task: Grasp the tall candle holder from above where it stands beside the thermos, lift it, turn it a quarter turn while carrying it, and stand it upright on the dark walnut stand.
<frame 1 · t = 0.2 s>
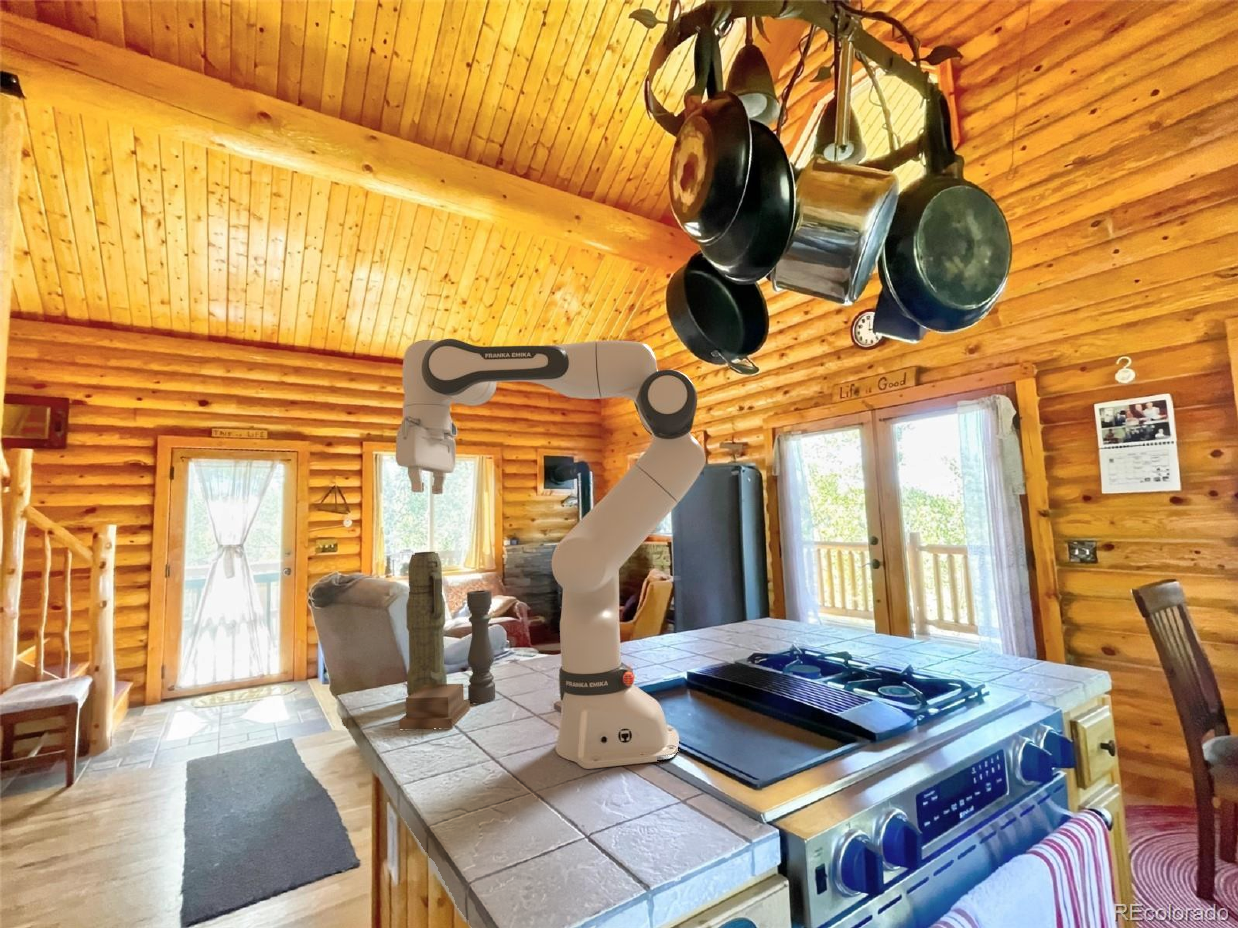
hand: (428, 493, 107), 48 cm above the counter, tool pointing down, fingers open, 8 cm apart
walnut stand: (436, 719, 118), on the counter
candle holder: (481, 700, 130), on the counter
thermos: (427, 702, 130), on the counter
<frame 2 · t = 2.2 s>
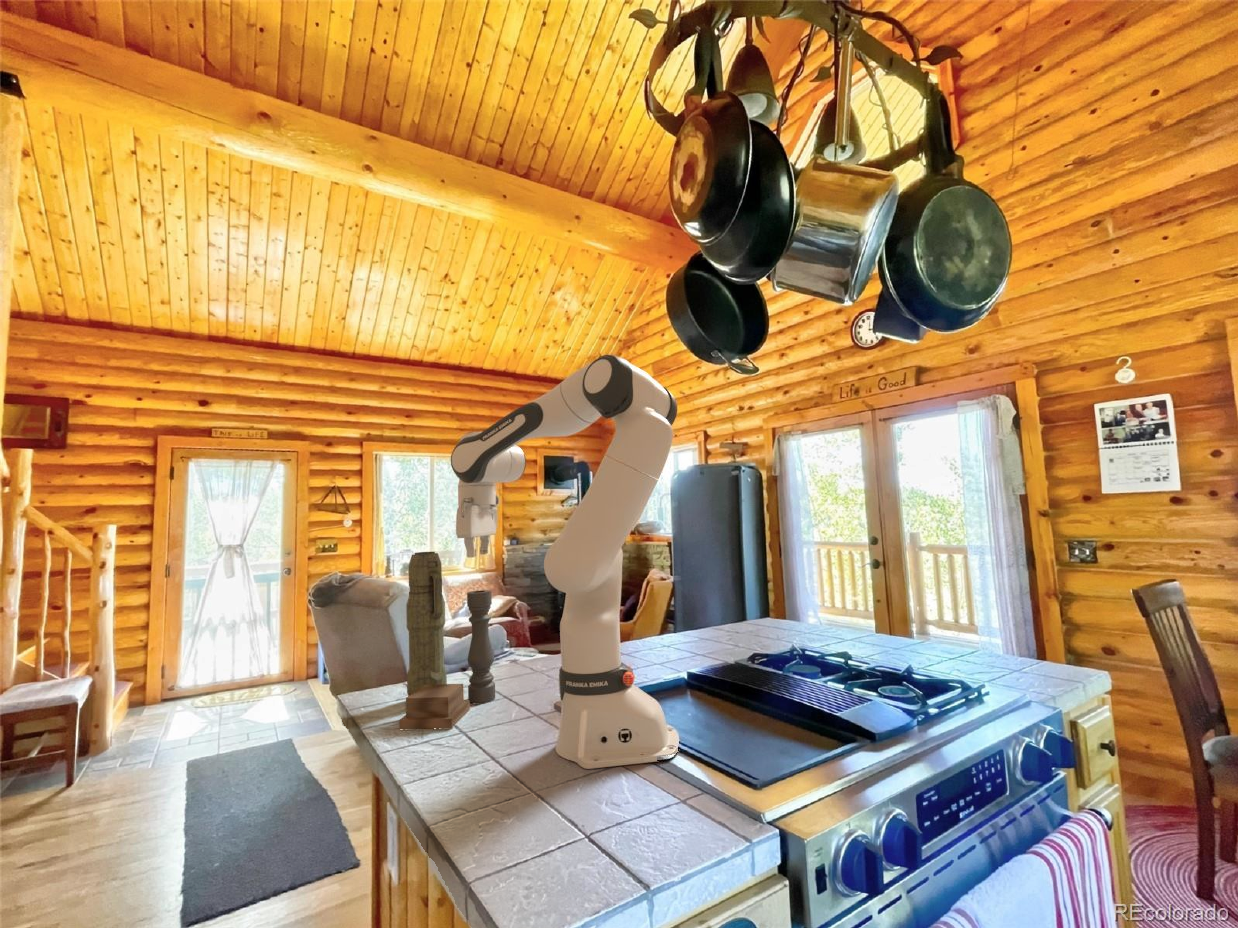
hand: (478, 555, 133), 34 cm above the counter, tool pointing down, fingers open, 8 cm apart
nothing on the counter moved.
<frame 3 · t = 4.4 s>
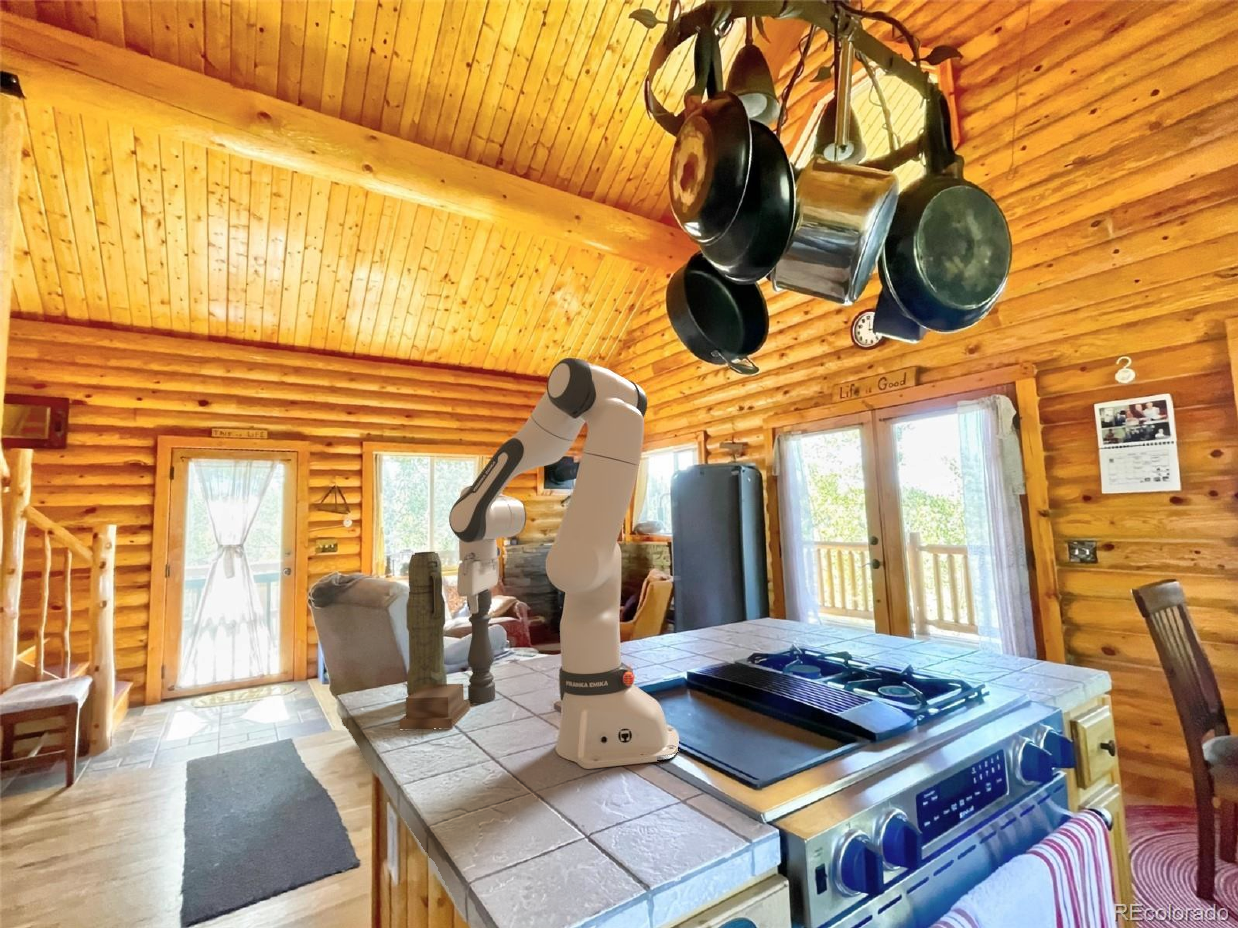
hand: (479, 610, 132), 21 cm above the counter, tool pointing down, fingers closed on candle holder, 6 cm apart
candle holder: (481, 700, 130), on the counter, touching gripper
everything else where it was.
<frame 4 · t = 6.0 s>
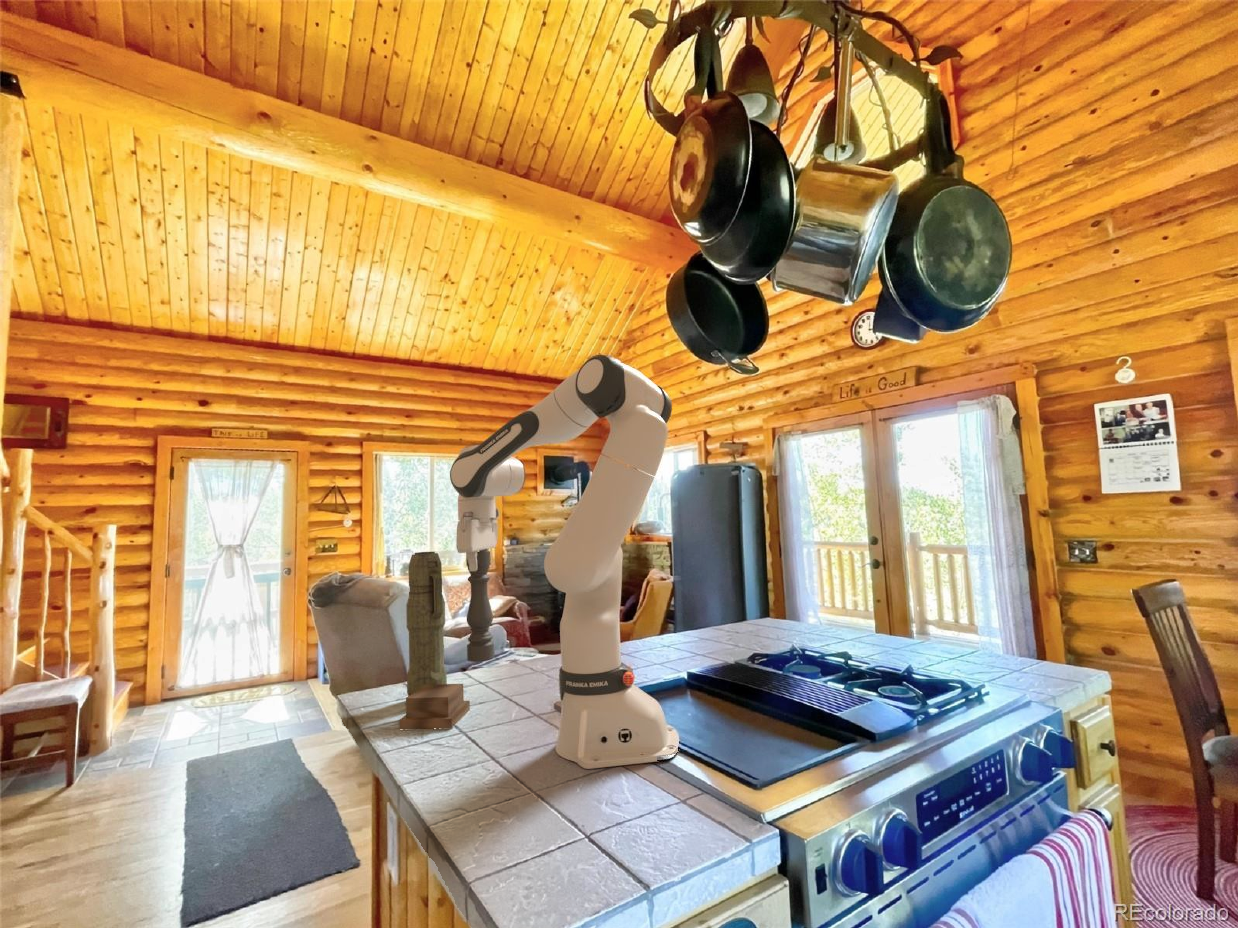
hand: (478, 569, 133), 30 cm above the counter, tool pointing down, fingers closed on candle holder, 6 cm apart
candle holder: (480, 659, 131), point 9 cm above the counter, touching gripper
everything else where it was.
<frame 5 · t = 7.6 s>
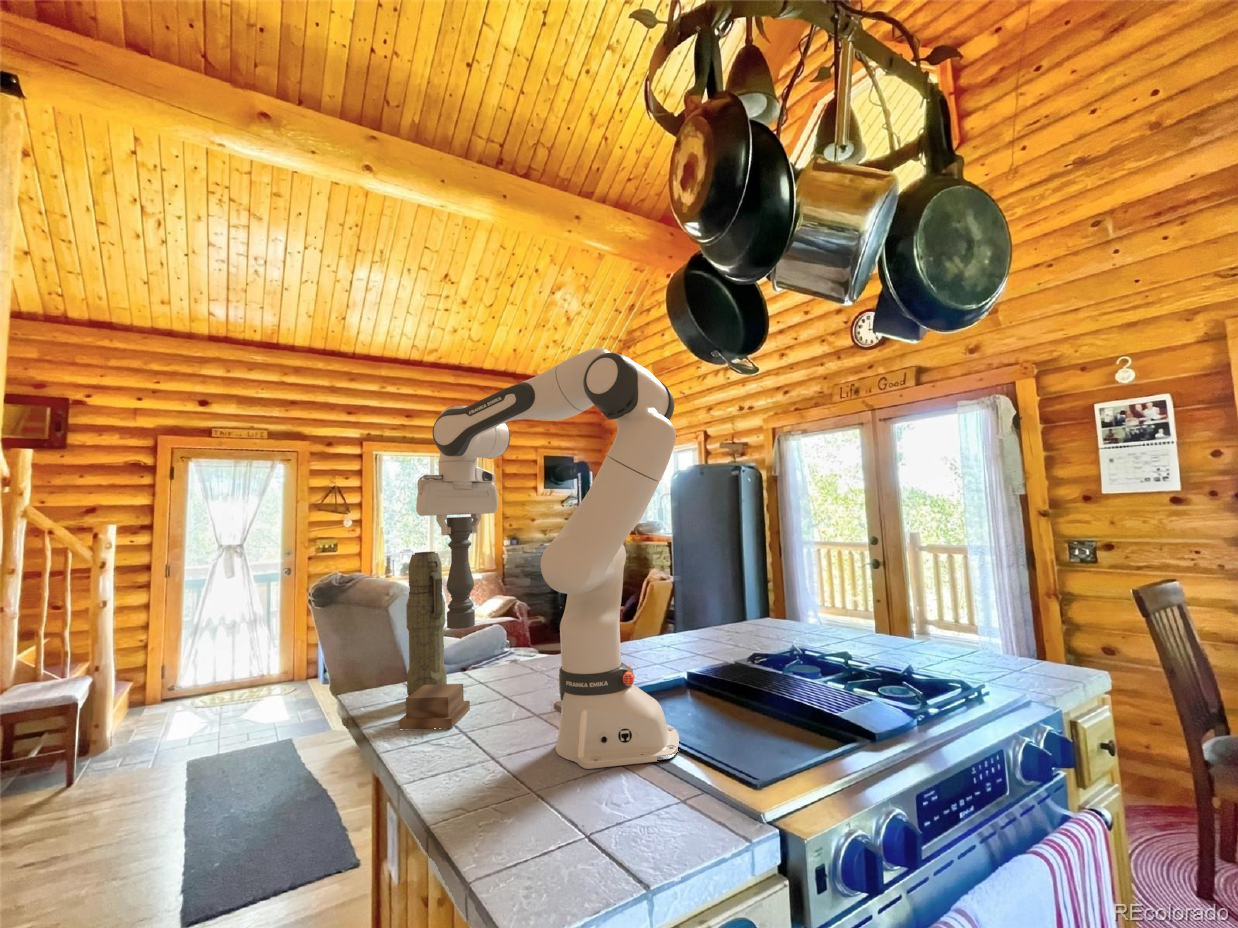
hand: (459, 534, 128), 39 cm above the counter, tool pointing down, fingers closed on candle holder, 6 cm apart
candle holder: (461, 626, 127), point 18 cm above the counter, touching gripper
everything else where it was.
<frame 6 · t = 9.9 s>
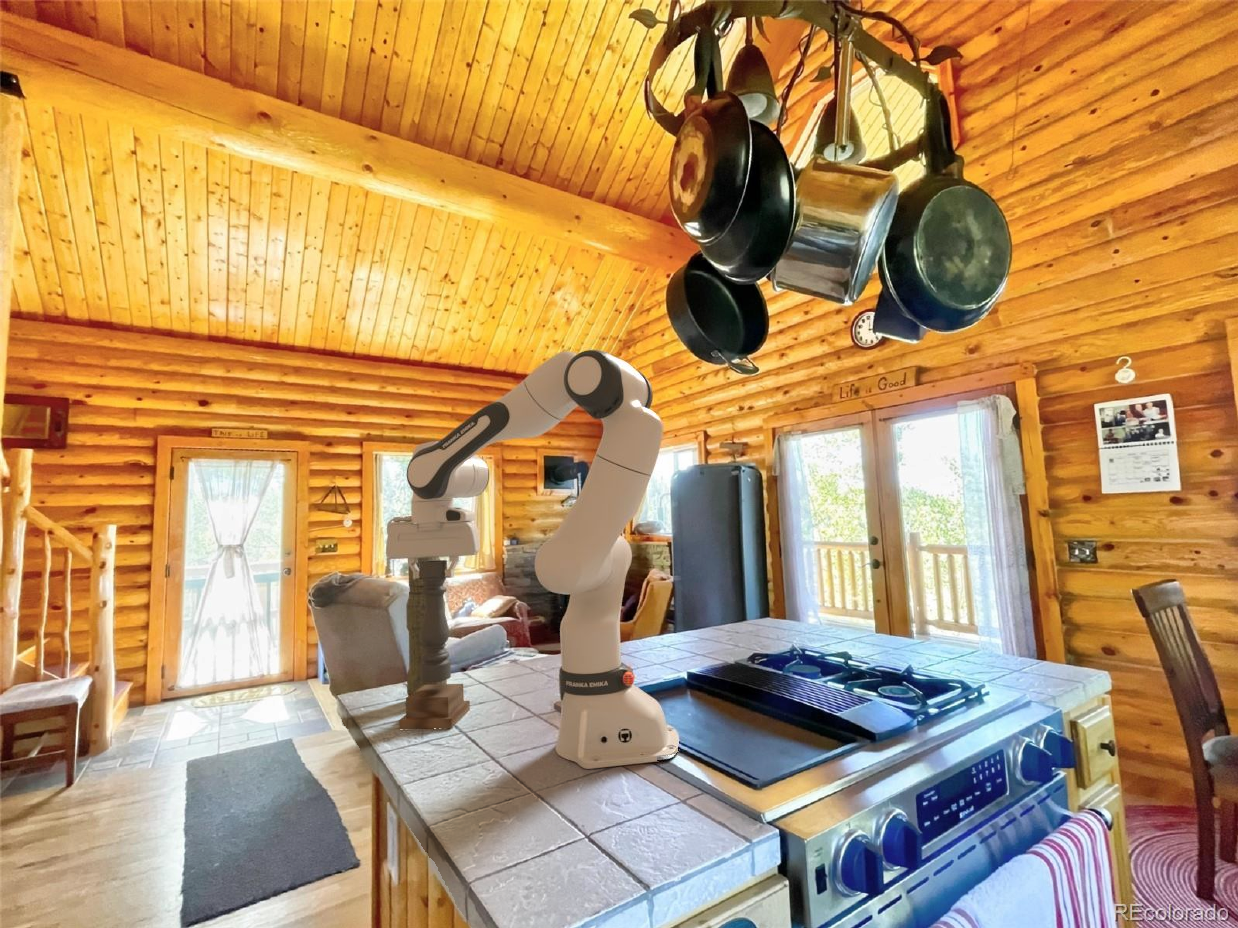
hand: (433, 578, 121), 30 cm above the counter, tool pointing down, fingers closed on candle holder, 6 cm apart
candle holder: (435, 679, 119), point 8 cm above the counter, touching gripper
everything else where it was.
when the fingers open (28 cm above the counter, at t = 11.3 s): candle holder stays where it is, resting on walnut stand.
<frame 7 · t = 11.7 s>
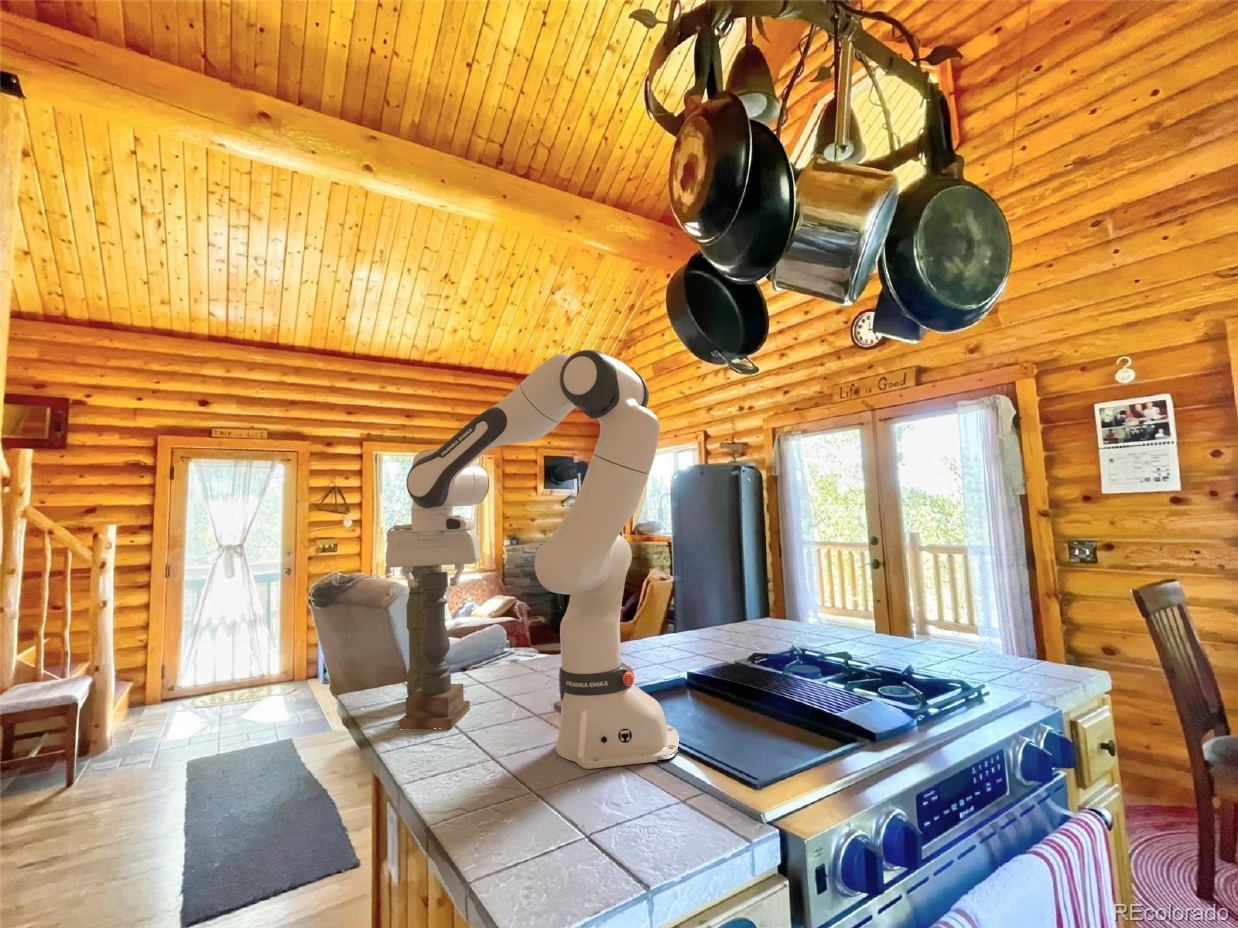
hand: (433, 586, 120), 28 cm above the counter, tool pointing down, fingers open, 8 cm apart
candle holder: (436, 691, 118), point 6 cm above the counter, touching walnut stand
everything else where it was.
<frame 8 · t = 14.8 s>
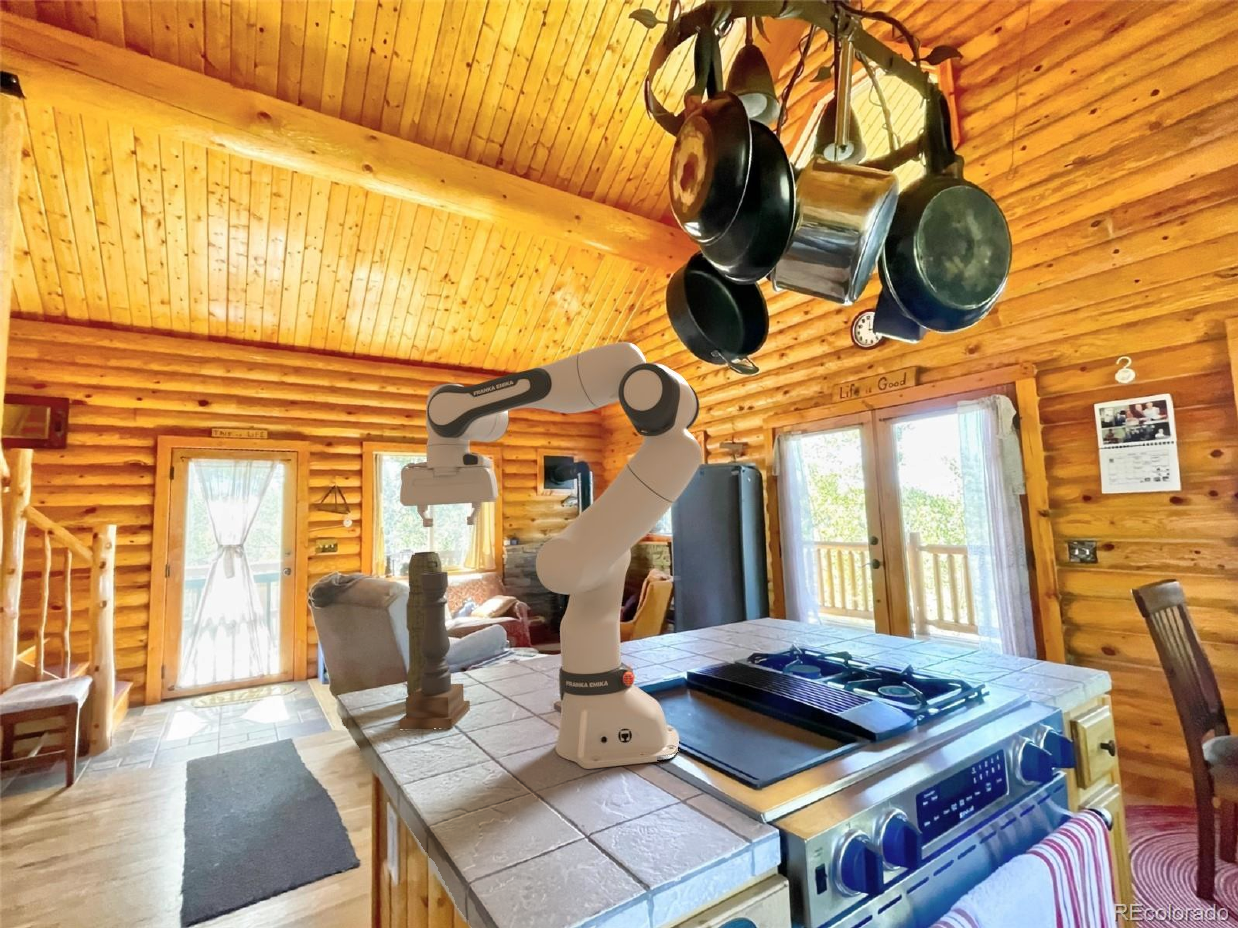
hand: (449, 526, 116), 41 cm above the counter, tool pointing down, fingers open, 8 cm apart
nothing on the counter moved.
at the end: candle holder inside the target area on the walnut stand (0.2 cm from its centre), point 5.8 cm above the walnut stand's base; candle holder tilted 0°; the gripper is holding nothing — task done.
